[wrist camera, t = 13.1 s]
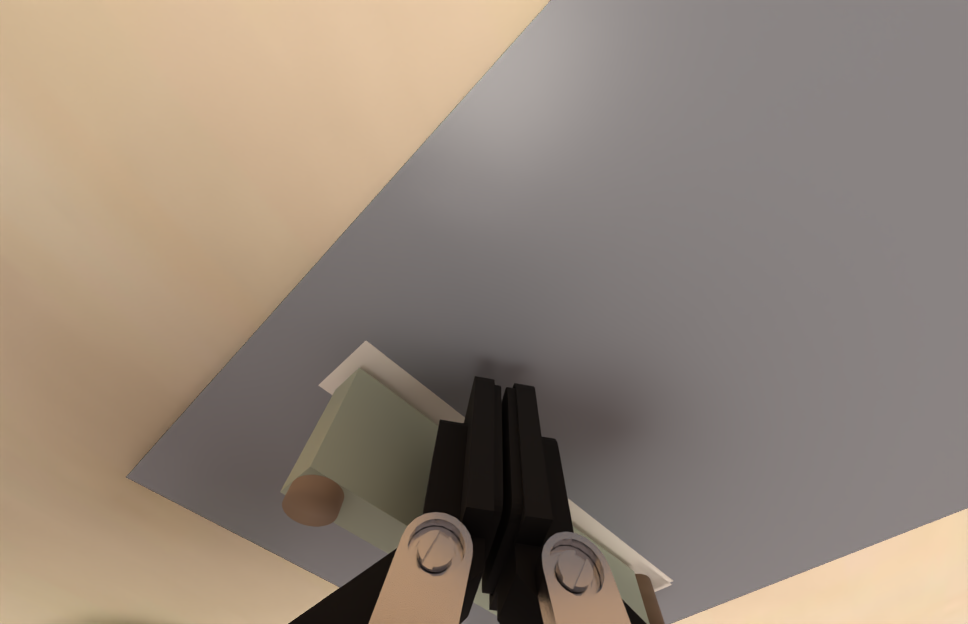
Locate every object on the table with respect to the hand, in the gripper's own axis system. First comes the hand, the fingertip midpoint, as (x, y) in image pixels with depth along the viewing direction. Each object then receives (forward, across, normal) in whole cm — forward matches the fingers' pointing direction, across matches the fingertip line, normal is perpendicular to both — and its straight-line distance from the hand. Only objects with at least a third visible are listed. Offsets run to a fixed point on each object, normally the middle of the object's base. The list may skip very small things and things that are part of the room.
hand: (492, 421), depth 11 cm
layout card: (+2, -4, +2) cm, 5 cm away
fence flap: (+1, -1, +4) cm, 5 cm away
